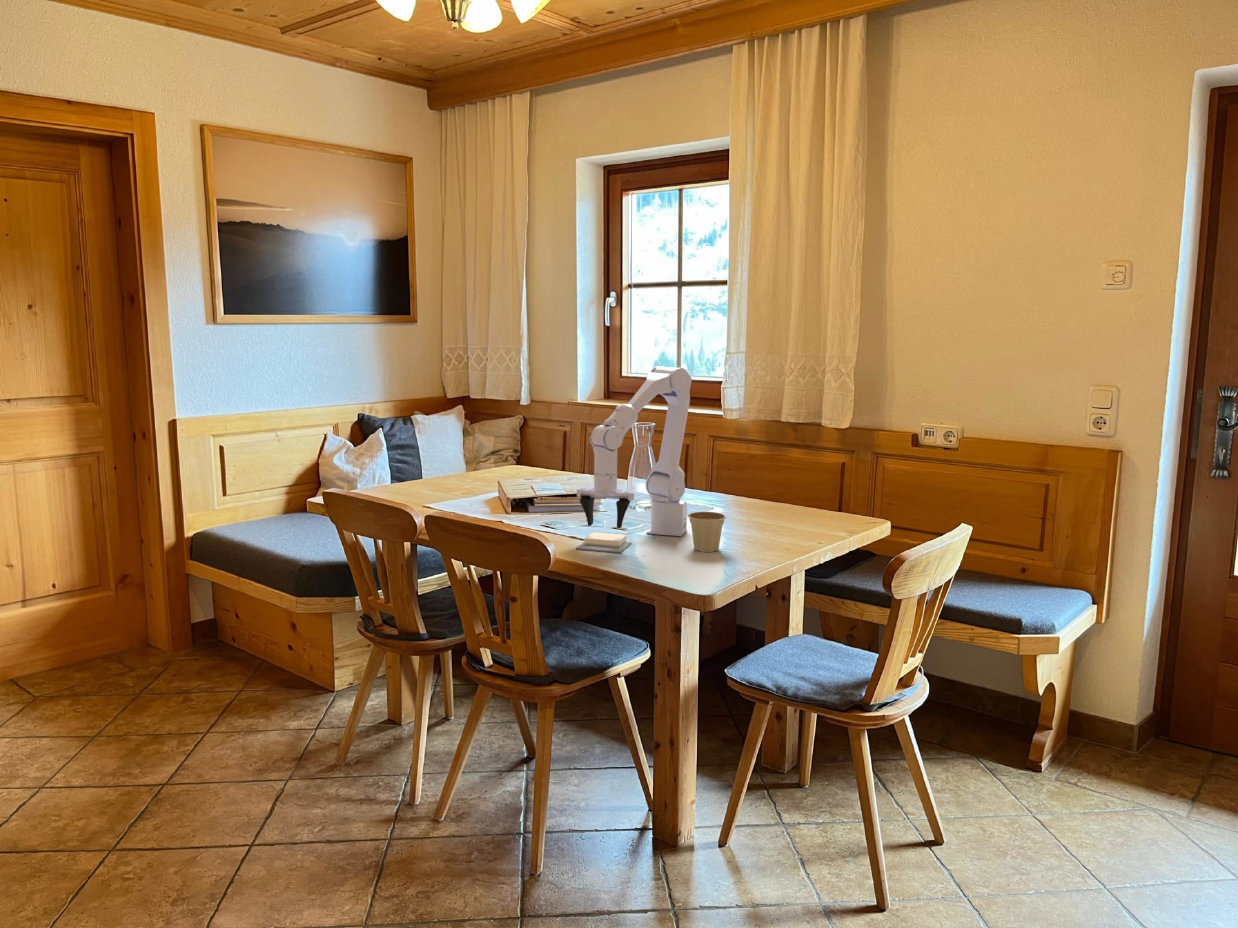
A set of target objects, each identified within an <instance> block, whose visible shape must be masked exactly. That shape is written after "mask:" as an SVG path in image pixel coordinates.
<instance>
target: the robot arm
mask: <svg viewBox="0 0 1238 928" xmlns="http://www.w3.org/2000/svg"><path fill="white" fill-rule="evenodd" d="M645 379H646V380H645V381H644V382H643V384H642V385H641V386H640V388H639V389H638V390H637V392H635V393H634V395H633V396H632V398H631V399H630V400H629V402H628V403H623V404H619V405H617V406H616V407H615V408H614V409H615V410H614V411H613V412H612V413H611V415H609V417H608V418H607V419H605V420H604V422H603V423H602V424H600V425H597V426H595V427H594V429H593V430H592V432H591V435H590V436H589V442H590V444H591V446H592V451H593V454H594V459H593V460H594V463H593V464H594V465H593V466H594V467H593V471H594V472H593V476H594V477H593V480H594V481H593V482H594V485H593V487H592V488H591V487H579V488H577V489H576V497H580V499H579V503H580V505H581V507H582V509H583V511H584V513H585V518H586V522H587V526H588V527H591V526H592V525H593V524H594V504H595V498H600V499H610V500H611V499H612V500H617V501H615V503H616V505H615V506H616V516H617V517H616V528H617V529H621V528H622V527H623V522H624V517H625V514H626V512H627V510H628V508H629V505H630V503H631V502H632V501H634V500H635V491H630V490H623V489H622V490H621V489H617V488H618V448H620V447H622V444H623V441H624V437H625V436H626V433H628V431H629V430H630V429H631V428H632V427H633V426H634V424H635V423H637V421H638V419H639V417H638V415H639V414H638V413H640V411H642V409H644V408H645V407H646V406H647V405H648V404H649V403H650V402H651V401H652V400H653V399H654V398H656V396H657V395H661V396H662V397H663V398H664V399H665V401H666V402H667V404H668V405H667V409H666V410H667V411H666V416H665V417H666V418H665V423H664V427H663V428H664V429H663V434H662V440H661V446H660V450H659V451H660V452H659V457H658V461H657V462H656V463H655V464H653V465H652V467H651V469H650V471H649V474H648V476H647V478H646V481H645V491H646V492H647V493H648V495H649V498H650V502H651V503H650V505H651V507H650V509H651V510H650V528H649V529H647V530H646V534H650V535H658V536H659V535H660V536H661V535H662V536H672V537H673V536H674V537H683V535H685V533H686V531H687V530H688V528H687V526H688V525H687V523H688V521H687V520H688V503H687V501H685V500H681V499H682V497H683V496H684V495H685V494H684V493H685V491H686V483H685V477H686V474H685V472H684V470H683V469H682V468H681V466H680V459H681V453H682V447H683V445H684V444H683V443H684V436H685V431H686V426H687V420H688V413H689V409H690V401H691V396H690V392H691V391H690V390H691V384H692V377H691V375H690V373H689V372H688V370H687V369H686V368H683V367H668V366H662V365H657V366H654V367H653V368H652V369H651V371H650V372H648V373H647V374H646V378H645ZM667 474H668V475H667Z"/></svg>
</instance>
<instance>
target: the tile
mask: <svg viewBox="0 0 1238 928" xmlns="http://www.w3.org/2000/svg"><path fill="white" fill-rule="evenodd" d="M584 542H585V544H587V545H598V546H610V547H620V546H622V545H623V544H624V543H625V542H627V534H617V533H607V532H606V533H605V532H594V531H593V532H592V533H590V534H588V535H587V536H586V537H584Z"/></svg>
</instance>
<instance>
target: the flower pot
mask: <svg viewBox="0 0 1238 928" xmlns="http://www.w3.org/2000/svg"><path fill="white" fill-rule="evenodd" d="M687 518H688V519H689V523H690V526H691V533H692V543H693V549H694V550H695V551H700V552H702V553H713V552H715V551H718V550H719V549H720V544H721V543H720V542H721V537H722V529H723V525H724V523H725V519H726V518H727V516H726V515H725V514H724V513H721V512H716V511H694V512H690V513H689V514H688V513H687Z"/></svg>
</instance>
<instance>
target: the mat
mask: <svg viewBox="0 0 1238 928" xmlns="http://www.w3.org/2000/svg"><path fill="white" fill-rule="evenodd" d="M631 545H632V542H631V541H626V542H625V543H624V544H623V545H622V546H620V547H610V546H598V545H587V544H585V541H583V542H582V543H580V544H579V545H578V546H576V548H575V549H576V550H580V551H589V552H590V551H592V552H601V553H613V554H614V553H615V554H622V553H623V552H624V551H625V550H627V548H629V547H630V546H631Z"/></svg>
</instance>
